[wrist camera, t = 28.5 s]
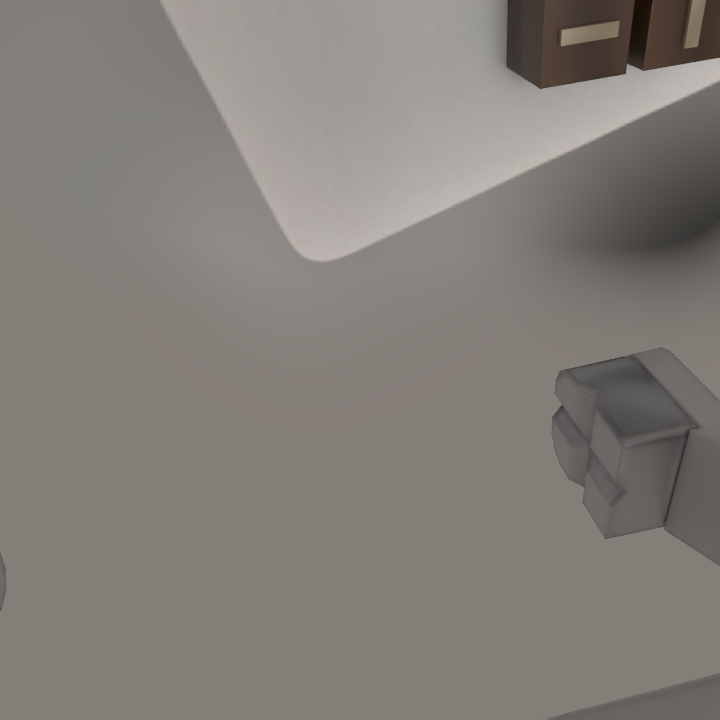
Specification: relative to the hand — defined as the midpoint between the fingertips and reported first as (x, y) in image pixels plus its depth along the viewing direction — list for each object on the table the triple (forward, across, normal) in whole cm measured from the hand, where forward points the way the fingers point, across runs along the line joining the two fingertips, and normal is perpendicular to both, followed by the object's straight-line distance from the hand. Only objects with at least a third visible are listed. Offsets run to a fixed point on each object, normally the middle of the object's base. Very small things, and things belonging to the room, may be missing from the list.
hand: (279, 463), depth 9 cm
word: (+34, -22, +3) cm, 41 cm away
